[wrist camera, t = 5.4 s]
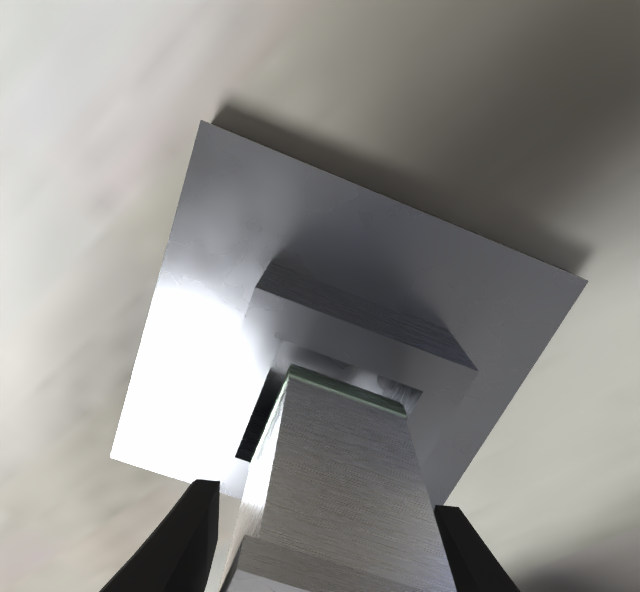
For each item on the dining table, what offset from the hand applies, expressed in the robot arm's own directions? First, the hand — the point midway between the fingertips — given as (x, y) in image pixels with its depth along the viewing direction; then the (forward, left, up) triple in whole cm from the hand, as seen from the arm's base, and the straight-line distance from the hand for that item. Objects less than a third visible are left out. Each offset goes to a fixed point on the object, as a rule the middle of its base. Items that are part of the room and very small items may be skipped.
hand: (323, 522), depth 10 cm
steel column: (0, 0, -4) cm, 4 cm away
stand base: (0, 0, -8) cm, 8 cm away
